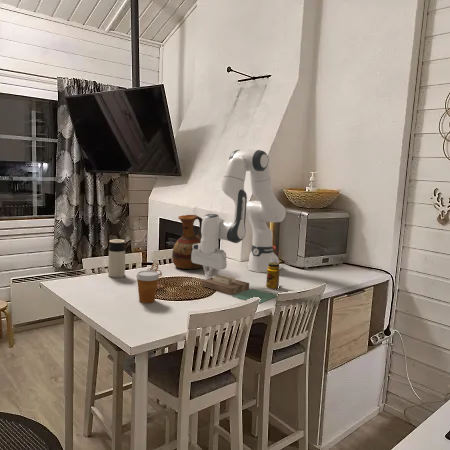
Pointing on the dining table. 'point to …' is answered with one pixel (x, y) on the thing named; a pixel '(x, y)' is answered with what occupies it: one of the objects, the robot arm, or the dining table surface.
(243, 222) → the robot arm
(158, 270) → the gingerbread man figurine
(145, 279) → the disposable coffee cup
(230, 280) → the tile
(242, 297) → the mat
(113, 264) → the travel mug
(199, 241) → the ceramic pitcher
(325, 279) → the dining table surface
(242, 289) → the board
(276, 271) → the condiment
